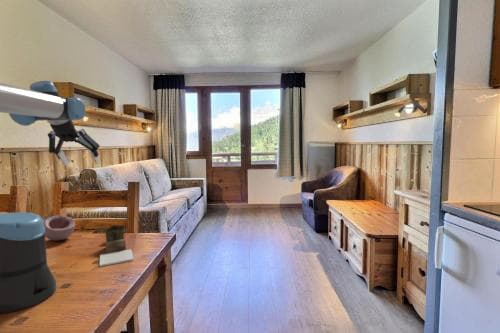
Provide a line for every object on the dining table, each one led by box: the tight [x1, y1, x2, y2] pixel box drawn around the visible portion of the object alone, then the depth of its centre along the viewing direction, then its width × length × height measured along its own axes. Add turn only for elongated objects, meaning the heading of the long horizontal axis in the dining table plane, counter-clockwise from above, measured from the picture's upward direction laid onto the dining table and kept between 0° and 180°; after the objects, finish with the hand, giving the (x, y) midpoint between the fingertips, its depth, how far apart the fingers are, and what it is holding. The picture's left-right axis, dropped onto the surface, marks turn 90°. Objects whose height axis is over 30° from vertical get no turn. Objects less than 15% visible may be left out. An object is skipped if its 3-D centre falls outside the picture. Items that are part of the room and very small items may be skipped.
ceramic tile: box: [99, 249, 135, 267], centre depth 101 cm, size 10×11×1 cm
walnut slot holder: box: [105, 236, 127, 254], centre depth 114 cm, size 7×14×4 cm, turn 28°
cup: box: [104, 224, 125, 241], centre depth 113 cm, size 8×7×8 cm
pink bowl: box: [43, 214, 76, 242], centre depth 121 cm, size 12×12×11 cm
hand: (82, 163), depth 121 cm, fingers open, 13 cm apart
